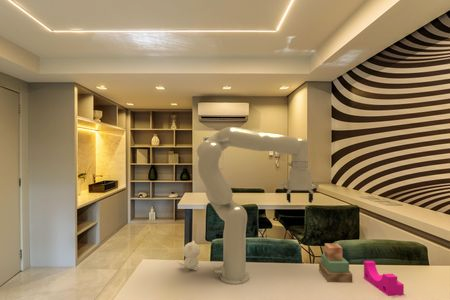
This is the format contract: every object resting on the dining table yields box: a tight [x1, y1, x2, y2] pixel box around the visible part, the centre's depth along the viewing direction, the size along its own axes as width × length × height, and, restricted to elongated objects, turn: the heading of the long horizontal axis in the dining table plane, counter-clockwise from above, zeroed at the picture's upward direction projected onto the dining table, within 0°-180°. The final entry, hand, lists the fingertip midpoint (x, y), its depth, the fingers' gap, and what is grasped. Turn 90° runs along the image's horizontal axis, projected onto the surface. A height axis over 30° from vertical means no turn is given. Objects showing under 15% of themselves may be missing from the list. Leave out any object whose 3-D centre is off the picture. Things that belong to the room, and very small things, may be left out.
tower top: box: [320, 253, 350, 273], centre depth 120 cm, size 8×10×4 cm
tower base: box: [318, 261, 353, 284], centre depth 120 cm, size 10×12×4 cm
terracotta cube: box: [324, 242, 343, 261], centre depth 120 cm, size 6×6×6 cm
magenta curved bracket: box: [363, 260, 405, 297], centre depth 111 cm, size 15×6×8 cm, turn 5°
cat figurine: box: [176, 240, 201, 271], centre depth 128 cm, size 9×11×12 cm
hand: (299, 202), depth 129 cm, fingers open, 9 cm apart
